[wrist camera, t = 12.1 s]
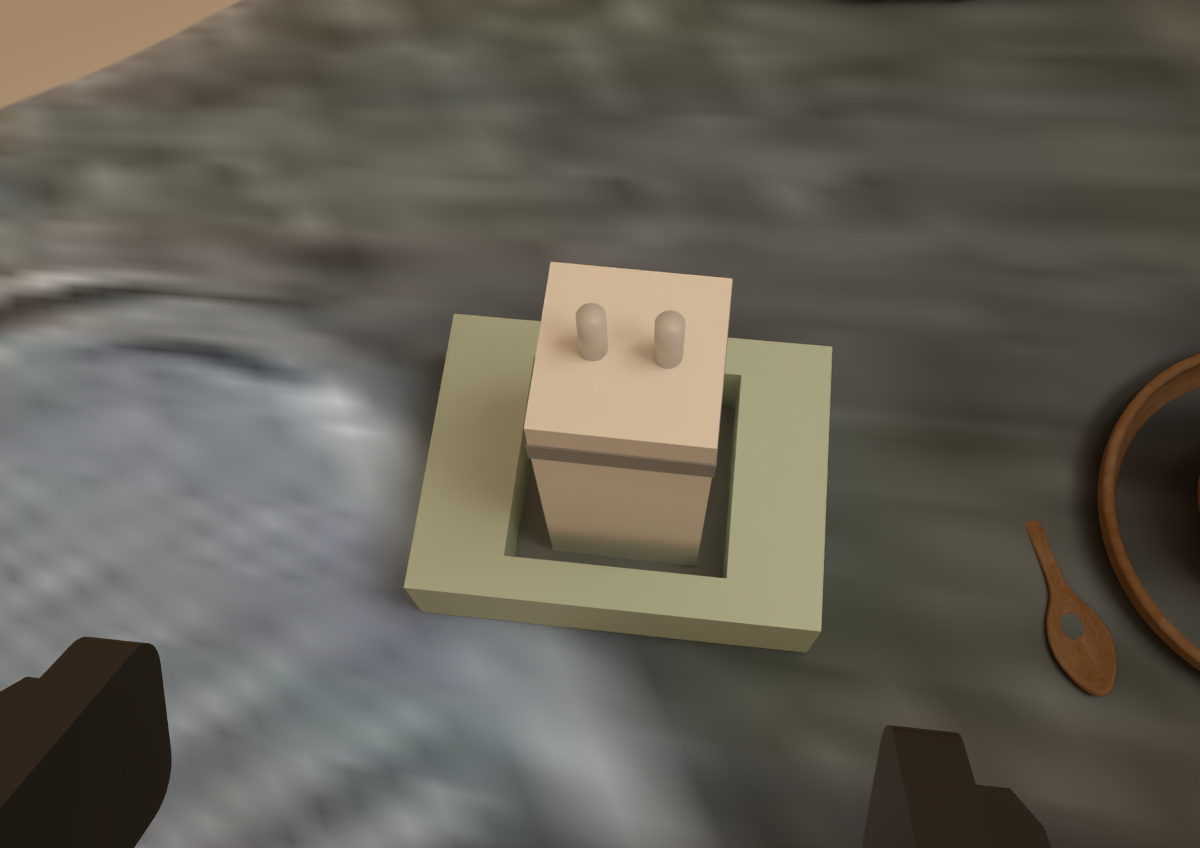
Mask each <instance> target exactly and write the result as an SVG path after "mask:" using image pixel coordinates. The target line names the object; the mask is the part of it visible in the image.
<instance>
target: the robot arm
mask: <svg viewBox="0 0 1200 848" xmlns="http://www.w3.org/2000/svg"><path fill="white" fill-rule="evenodd" d="M170 773H171V746H170V738H169V730H168V721H167V713H166V705H165V696H164V688H163V680H162V671H161V663H160V658H159V654H158V652H157V650H156V648H155V647H154V646H153V645H151V644H149V643H140V642H131V641H121V640H112V639H103V638H94V637H82V638H80V639H78V640H76V641H75V642H74V643H73V644H72V645H71V646H70V647H69V648H68V649H67V650H66V651H65V652H64V653H63V654H62V655H61V656H60V657H59V658H58V659H57V661H56V662H55V663H54V664H53V665H52V666H51V667H50V668H49V669H48V670H47V671H46V672H45V673H44V674H43V675H42V676H41V677H40V678H33V677H25V678H23V679H22V680H20V681H18V682H16V683H15V684H13V685H11V686H9V687H8V688H6V689H4V690H3V691H1V692H0V848H134V847H135V846H136V844H137V843H138V841H139V840H140V838H141V837H142V835H143V834H144V832H145V831H146V829H147V828H148V826H149V825H150V823H151V822H152V820H153V819H154V817H155V816H156V814H157V812H158V810H159V808H160V806H161V804H162V802H163V799H164V797H165V794H166V791H167V787H168V783H169V779H170ZM862 848H1051V846H1050V844H1049V841H1048V838H1047V835H1046V832H1045V830H1044V827H1043V826H1042V825H1041V823H1040V822H1039V821H1038V820H1037V819H1036V818H1035V817H1034V815H1033V814H1032V813H1031V812H1030V811H1029V810H1028V809H1027V807H1026V806H1025V805H1024V804H1023V803H1022V802H1021V801H1020V799H1019V798H1018V797H1017V796H1016V795H1015V794H1014V793H1013V791H1012V790H1011V789H1010V788H1001V787H992V786H983V785H976V784H975V780H974V777H973V774H972V770H971V767H970V763H969V760H968V757H967V753H966V750H965V746H964V743H963V740H962V738H961V736H960V735H959V734H958V733H955V732H945V731H936V730H927V729H917V728H908V727H899V726H890V725H888V726H886V728H885V729H884V732H883V735H882V738H881V743H880V748H879V754H878V759H877V765H876V770H875V776H874V781H873V787H872V792H871V797H870V803H869V808H868V814H867V819H866V825H865V830H864V836H863V843H862Z"/></svg>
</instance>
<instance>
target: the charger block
mask: <svg viewBox="0 0 1200 848" xmlns="http://www.w3.org/2000/svg"><path fill="white" fill-rule="evenodd" d="M731 290H732V279H730V278H720V277H709V276H698V275H687V274H676V273H666V272H655V271H644V270H633V269H622V268H612V267H601V266H590V265H579V264H568V263H557V262H551V263H550V270H549V276H548V282H547V288H546V294H545V301H544V307H543V313H542V319H541V325H540V331H539V338H538V344H537V350H536V356H535V362H534V368H533V375H532V381H531V387H530V393H529V399H528V406H527V412H526V418H525V424H524V432H525V436H526V444H525V447H526V451H527V456H528V458H531V461H532V465H533V469H534V473H535V478H536V482H537V486H538V490H539V494H540V498H541V503H542V507H543V511H544V515H545V519H546V523H547V527H548V532H549V536H550V540H551V544H552V548H553V550H554V551H563V552H572V553H581V554H590V555H599V556H608V557H617V558H626V559H635V560H644V561H653V562H662V563H671V564H679V565H688V566H696V564H697V558H698V553H699V547H700V541H701V536H702V530H703V525H704V519H705V513H706V508H707V502H708V497H709V491H710V486H711V480H712V478H714V476H715V470H716V464H717V453H718V442H719V430H720V419H721V408H722V397H723V386H724V375H725V364H726V353H727V342H728V331H729V320H730V309H731V298H732V297H731Z"/></svg>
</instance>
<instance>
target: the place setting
mask: <svg viewBox="0 0 1200 848" xmlns="http://www.w3.org/2000/svg"><path fill="white" fill-rule="evenodd" d="M1196 388H1200V353H1199V354H1196V355H1194V356H1192V357H1189V358H1187V359H1185V360H1183V361H1180V362H1178V363H1176V364H1175V365H1173V366H1172V367H1170V368H1168V369H1167V370H1165V371H1164V372H1162V373H1160V374H1159V375H1158V376H1157V377H1155V378H1154V379H1153V380H1152V381H1151V382H1150V383H1148V384H1147V385H1146V386H1145V387H1144V388H1143V389H1142V390H1141V391H1140V392H1139V393H1138V394H1137V395H1136V397H1135V398H1134V399H1133V400H1132V401H1131V402H1130V404H1129V405H1128V406H1127V407H1126V408H1125V410H1124V411H1123V413H1122V415H1121V416H1120V418H1119V420H1118V421H1117V423H1116V425H1115V426H1114V428H1113V430H1112V432H1111V435H1110V437H1109V440H1108V442H1107V444H1106V447H1105V449H1104V453H1103V457H1102V462H1101V466H1100V470H1099V479H1098V491H1097V500H1098V517H1099V523H1100V528H1101V533H1102V538H1103V542H1104V545H1105V548H1106V551H1107V554H1108V557H1109V560H1110V563H1111V566H1112V568H1113V570H1114V572H1115V574H1116V576H1117V578H1118V580H1119V582H1120V584H1121V587H1122V588H1123V590H1124V592H1125V593H1126V595H1127V596H1128V598H1129V599H1130V601H1131V603H1132V604H1133V606H1134V607H1135V609H1136V610H1137V612H1138V613H1139V614H1140V615H1141V617H1142V618H1143V619H1144V620H1145V622H1146V623H1147V624H1148V625H1149V626H1150V628H1151V629H1152V630H1153V631H1154V632H1155V633H1156V634H1157V635H1158V636H1159V637H1160V638H1161V639H1162V640H1163V641H1164V642H1165V643H1166V644H1167V645H1168V646H1169V647H1170V648H1171V649H1172V650H1173V651H1174V652H1175V653H1176V654H1178V655H1179V656H1180V657H1181V658H1183V659H1184V660H1185V661H1186V662H1188V663H1189V664H1190V665H1192V666H1193V667H1194V668H1195V669H1197V670H1198V671H1200V649H1199V648H1197V647H1196V646H1195V645H1193V644H1192V643H1191V642H1190V641H1189V640H1188V639H1186V638H1185V637H1184V636H1183V635H1182V634H1181V633H1180V632H1179V631H1178V630H1177V629H1176V628H1175V627H1174V626H1173V625H1172V624H1171V623H1170V622H1169V621H1168V619H1167V618H1166V617H1165V616H1164V614H1163V613H1162V612H1161V611H1160V610H1159V608H1158V607H1157V606H1156V605H1155V603H1154V602H1153V601H1152V599H1151V598H1150V596H1149V595H1148V593H1147V592H1146V590H1145V589H1144V587H1143V585H1142V584H1141V582H1140V581H1139V579H1138V577H1137V575H1136V573H1135V571H1134V569H1133V567H1132V565H1131V563H1130V561H1129V559H1128V557H1127V554H1126V551H1125V548H1124V545H1123V542H1122V539H1121V537H1120V534H1119V529H1118V524H1117V519H1116V511H1115V495H1116V483H1117V478H1118V474H1119V470H1120V466H1121V463H1122V460H1123V458H1124V455H1125V453H1126V450H1127V448H1128V446H1129V444H1130V443H1131V441H1132V440H1133V438H1134V436H1135V435H1136V433H1137V431H1138V430H1139V429H1140V428H1141V427H1142V426H1143V424H1144V423H1145V422H1146V421H1147V420H1148V418H1149V417H1151V416H1152V415H1153V414H1154V413H1155V412H1156V411H1158V410H1159V409H1160V408H1161V407H1162V406H1164V405H1165V404H1167V403H1168V402H1170V401H1172V400H1173V399H1175V398H1176V397H1178V396H1180V395H1182V394H1185V393H1187V392H1189V391H1191V390H1194V389H1196ZM1197 497H1198V507H1199V513H1200V475H1199V480H1198V493H1197ZM1025 527H1026V530H1027V533H1028V535H1029V538H1030V540H1031V543H1032V545H1033V548H1034V550H1035V552H1036V555H1037V557H1038V560H1039V562H1040V564H1041V567H1042V569H1043V572H1044V575H1045V577H1046V581H1047V584H1048V589H1049V604H1048V609H1047V615H1046V629H1047V637H1048V641H1049V645H1050V647H1051V650H1052V652H1053V654H1054V656H1055V658H1056V660H1057V661H1058V663H1059V664H1060V666H1061V667H1062V668H1063V670H1064V671H1065V672H1066V673H1067V674H1068V676H1069V677H1070V678H1071V679H1072V680H1073V681H1074V682H1075V683H1076V684H1077V685H1078V686H1080V687H1081V688H1082V689H1083V690H1085V691H1086V692H1088V693H1089V694H1091V695H1094V696H1102V695H1106V694H1109V693H1110V692H1111V690H1112V688H1113V685H1114V681H1115V676H1116V652H1115V647H1114V643H1113V640H1112V637H1111V635H1110V633H1109V631H1108V629H1107V628H1106V626H1105V625H1104V623H1103V622H1102V620H1101V619H1100V618H1099V616H1098V615H1097V614H1096V613H1095V612H1094V611H1093V610H1092V609H1091V608H1090V607H1089V606H1088V605H1087V604H1085V603H1084V602H1083V601H1082V600H1081V599H1079V598H1078V597H1077V596H1076V595H1075V594H1074V593H1073V592H1072V590H1071V589H1070V588H1069V586H1068V585H1067V583H1066V582H1065V580H1064V578H1063V576H1062V574H1061V572H1060V570H1059V567H1058V565H1057V563H1056V561H1055V558H1054V556H1053V553H1052V551H1051V549H1050V546H1049V544H1048V541H1047V539H1046V536H1045V534H1044V531H1043V528H1042V526H1041V524H1040V522H1039V521H1038V520H1033V521H1029V522H1025ZM1067 613H1074V614H1076V615H1078V616H1079V617H1080V619H1081V620H1082V622H1083V626H1084V634H1083V635H1082V637H1081V638H1078V639H1070V638H1068V637H1067V636H1066V635H1065V634H1064V633H1063V631H1062V630H1061V627H1060V623H1059V620H1060V618H1061V616H1062V615H1064V614H1067Z"/></svg>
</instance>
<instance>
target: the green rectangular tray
mask: <svg viewBox="0 0 1200 848" xmlns="http://www.w3.org/2000/svg"><path fill="white" fill-rule="evenodd" d="M540 325H541V321H531V320H519V319H508V318H497V317H485V316H474V315H462V314H454V317H453V322H452V327H451V333H450V338H449V344H448V349H447V355H446V360H445V366H444V371H443V376H442V382H441V387H440V393H439V398H438V404H437V409H436V415H435V420H434V425H433V431H432V436H431V442H430V447H429V453H428V458H427V463H426V469H425V474H424V480H423V485H422V491H421V496H420V502H419V507H418V512H417V518H416V523H415V529H414V534H413V540H412V545H411V551H410V556H409V561H408V567H407V572H406V578H405V583H404V589H405V590H406V591H407V593H408V594H409V595H410V597H411V598H412V599H413V601H414V602H415V603H416V605H417V606H418V607H419V609H420V610H421V611H422V612H428V613H438V614H447V615H456V616H466V617H475V618H485V619H494V620H503V621H513V622H522V623H532V624H541V625H550V626H560V627H569V628H579V629H588V630H597V631H607V632H616V633H626V634H635V635H644V636H654V637H663V638H673V639H682V640H691V641H701V642H710V643H720V644H729V645H738V646H748V647H757V648H767V649H776V650H786V651H795V652H804V653H807V651H808V650H809V648H810V647H811V645H812V644H813V643H814V641H815V640H816V638H817V637H818V635H819V634H820V632H821V623H822V597H823V571H824V546H825V520H826V494H827V469H828V443H829V418H830V392H831V366H832V347H829V346H818V345H806V344H795V343H783V342H772V341H760V340H749V339H737V338H728V342H727V353H726V364H725V375H724V386H723V397H722V408H721V419H720V430H719V442H718V453H717V464H716V470H715V476H714V478H712V480H711V486H710V491H709V497H708V502H707V508H706V513H705V519H704V525H703V530H702V536H701V541H700V547H699V553H698V558H697V564H696V566H688V565H679V564H671V563H662V562H653V561H644V560H635V559H626V558H617V557H608V556H599V555H590V554H581V553H572V552H563V551H554V550H553V548H552V544H551V540H550V536H549V532H548V527H547V523H546V519H545V515H544V511H543V507H542V503H541V498H540V494H539V490H538V486H537V482H536V478H535V473H534V469H533V465H532V461H531V458H528V456H527V451H526V447H525V444H526V436H525V432H524V424H525V418H526V412H527V406H528V399H529V393H530V387H531V381H532V375H533V368H534V362H535V356H536V350H537V344H538V338H539V331H540Z"/></svg>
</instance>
